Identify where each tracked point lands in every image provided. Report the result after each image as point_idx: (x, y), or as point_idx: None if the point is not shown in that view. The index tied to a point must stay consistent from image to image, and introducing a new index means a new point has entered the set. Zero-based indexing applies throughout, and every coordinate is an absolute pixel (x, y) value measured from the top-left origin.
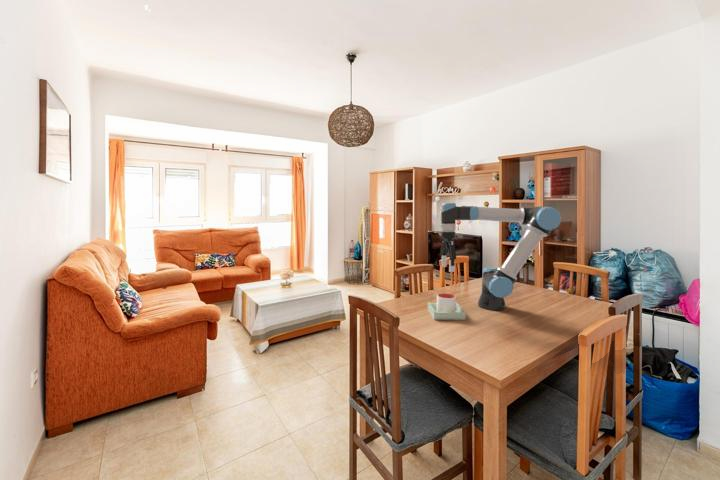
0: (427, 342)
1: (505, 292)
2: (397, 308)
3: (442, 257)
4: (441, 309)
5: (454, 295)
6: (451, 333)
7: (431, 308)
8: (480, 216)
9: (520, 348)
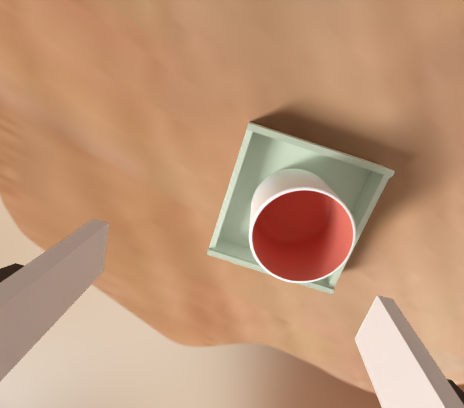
0: None
1: None
2: (170, 328)
3: (14, 361)
4: (312, 248)
5: (312, 190)
6: (460, 288)
7: None
8: None
9: None
